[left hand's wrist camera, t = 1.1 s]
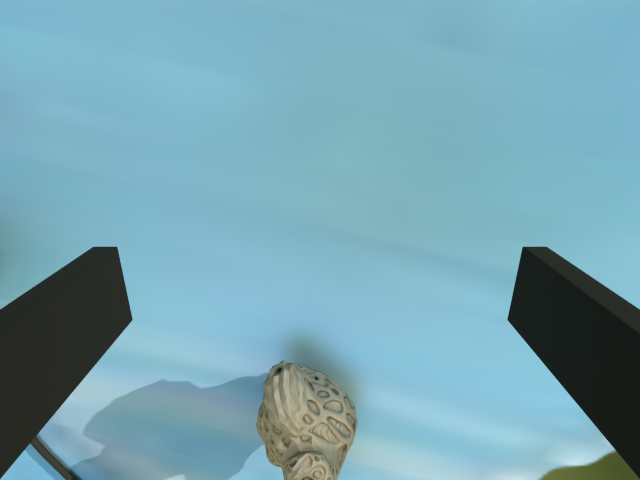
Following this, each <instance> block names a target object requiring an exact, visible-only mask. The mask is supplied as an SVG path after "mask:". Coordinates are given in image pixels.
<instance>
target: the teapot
mask: <svg viewBox="0 0 640 480" xmlns="http://www.w3.org/2000/svg"><path fill="white" fill-rule="evenodd" d="M346 395H347V394H346V393H345V392H344V391H343V390H342V389H341V387H340V386H338V385H337V384H336V383H335V381H334V380H333V379H331V378H329V377H328V376H326V375H324V374H322V373H320V372H317V371H314V370H311V369H309V368H307V367H302V368H300V367H299V366H298V365H296V364H293V363H287V362H285V361H282V362H280V363H279V364H277V365H275V366H272V368H271V369H270V374H269V376H268V378H267V379H266V381H265V382H264V396H263V403H262V405H261V406H260V409H259V414H258V422H257V424H256V426H257V430H258V433H259V434H260V436H261V438H262V439H263V441H264V443H265V448H266V453H267V458H268V460H269V462H270V463H272V464H273V465H275V466H278V467H281V468H282V469H283V476H284V480H337V478H338V476H339V473H340V470H341V468H342V465H343V463H344V460H345V457H346V454H347V451H348V450H349V448H350V446H351V445H352V443H353V440H354V436H355V432H356V427H357V418H356V412H355V407H354V404H353V402H352V401H351V399H350V398H349V397H348V396H346Z"/></svg>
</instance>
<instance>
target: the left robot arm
mask: <svg viewBox="0 0 640 480" xmlns="http://www.w3.org/2000/svg"><path fill="white" fill-rule="evenodd" d="M131 321H132V315H131V310H130V306H129V301H128V296H127V291H126V287H125V282H124V277H123V272H122V267H121V263H120V258H119V253H118V248H117V247H93V248H91V249H90V250H88V251H87V252H85V253H84V254H82V255H81V256H79V257H78V258H76V259H75V260H73V261H72V262H70V263H69V264H67V265H66V266H64V267H63V268H61V269H60V270H58V271H57V272H55V273H54V274H52V275H51V276H49V277H48V278H47V279H45V280H44V281H42V282H41V283H39V284H38V285H36V286H35V287H33V288H32V289H30V290H29V291H27V292H26V293H24V294H23V295H21V296H20V297H18V298H17V299H15V300H14V301H12V302H11V303H9V304H8V305H6V306H5V307H3V308H2V309H1V310H0V479H1V477H2V476H3V475H4V474H5V473H6V471H7V470H8V469H9V468H10V467H11V465H12V464H13V463H14V462H15V460H16V459H17V458H18V457H19V456H20V454H21V453H22V452H23V451H24V450H25V448H26V447H27V446H28V445H29V444H30V442H31V441H32V440H33V439H34V438H35V436H36V435H37V434H38V433H39V432H40V430H41V429H42V428H43V427H44V426H45V424H46V423H47V422H48V421H49V420H50V418H51V417H52V416H53V415H54V414H55V412H56V411H57V410H58V409H59V408H60V406H61V405H62V404H63V403H64V402H65V400H66V399H67V398H68V397H69V396H70V394H71V393H72V392H73V391H74V390H75V388H76V387H77V386H78V385H79V384H80V382H81V381H82V380H83V379H84V378H85V376H86V375H87V374H88V373H89V371H90V370H91V369H92V368H93V367H94V365H95V364H96V363H97V362H98V361H99V359H100V358H101V357H102V356H103V355H104V353H105V352H106V351H107V350H108V349H109V347H110V346H111V345H112V344H113V343H114V341H115V340H116V339H117V338H118V337H119V335H120V334H121V333H122V332H123V331H124V329H125V328H126V327H127V326H128V325H129V323H130V322H131ZM508 321H509V322H510V323H511V325H512V326H513V327H514V328H515V329H516V331H517V332H518V333H519V334H520V335H521V337H522V338H523V339H524V340H525V341H526V343H527V344H528V345H529V346H530V347H531V349H532V350H533V351H534V352H535V353H536V355H537V356H538V357H539V358H540V359H541V361H542V362H543V363H544V364H545V365H546V367H547V368H548V369H549V370H550V371H551V373H552V374H553V375H554V376H555V378H556V379H557V380H558V381H559V382H560V384H561V385H562V386H563V387H564V388H565V390H566V391H567V392H568V393H569V394H570V396H571V397H572V398H573V399H574V400H575V402H576V403H577V404H578V405H579V406H580V408H581V409H582V410H583V411H584V412H585V414H586V415H587V416H588V417H589V418H590V420H591V421H592V422H593V423H594V424H595V426H596V427H597V428H598V429H599V430H600V432H601V433H602V434H603V435H604V436H605V438H606V439H607V440H608V441H609V442H610V444H611V445H612V446H613V447H614V448H615V450H616V451H617V452H618V453H619V454H620V456H621V457H622V458H623V459H624V460H625V462H626V463H627V464H628V465H629V467H630V468H631V469H632V470H633V471H634V472H635V474H636V475H637V476H638V477H639V478H640V310H639V309H638V308H637V307H635V306H634V305H632V304H631V303H629V302H628V301H626V300H625V299H623V298H622V297H620V296H619V295H617V294H616V293H614V292H613V291H611V290H610V289H608V288H607V287H605V286H604V285H602V284H601V283H599V282H598V281H596V280H595V279H593V278H592V277H591V276H589V275H588V274H586V273H585V272H583V271H582V270H580V269H579V268H577V267H576V266H574V265H573V264H571V263H570V262H568V261H567V260H565V259H564V258H562V257H561V256H559V255H558V254H556V253H555V252H553V251H552V250H550V249H549V248H547V247H523V248H522V253H521V258H520V263H519V267H518V272H517V277H516V282H515V287H514V291H513V296H512V301H511V306H510V310H509V315H508Z"/></svg>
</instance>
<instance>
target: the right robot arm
mask: <svg viewBox="0 0 640 480" xmlns="http://www.w3.org/2000/svg"><path fill="white" fill-rule="evenodd" d="M30 443H31V444H32V446H33V447H34V448H35V449H36V450H37V451H38V452H39V453H40V455H41V456H42V457H43V458H44V459H45V460H46V461H47V462H48V463H49V464H51V465H52V466H53V467H54V468H55V469H56V470H57V471H58V472H59V473H60V474H61V475H62V476H63V477H64V478H65V479H66V480H77V479H76V478H75V477H74V476H73V475H72V474H71V473H70V472H69V471H68V470H67V469H66V468H65V467H64V466H63V465H62V464H61V463H60V462H59V461H58V460H57V459H56V458H55V457H54V456H53V455H52V454H51V453H50V452H49V451H48V450H47V449H46V448H45V447H44V446H43V445H42V444H41V442H40V441H39V440H38V439H37V438H36V436H35V438H34V439H33V440H32V441H31V442H30Z"/></svg>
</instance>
